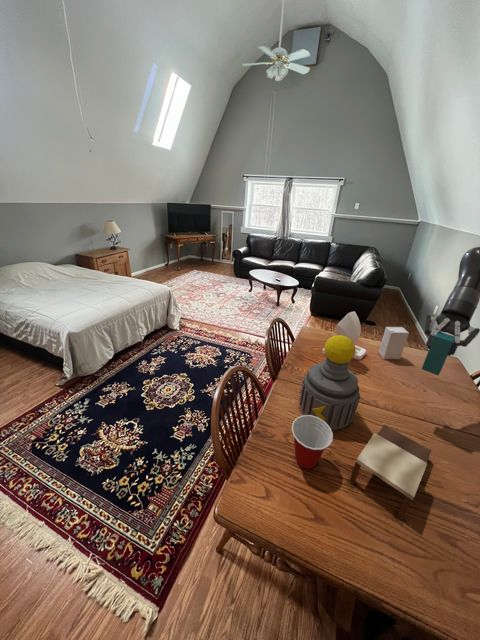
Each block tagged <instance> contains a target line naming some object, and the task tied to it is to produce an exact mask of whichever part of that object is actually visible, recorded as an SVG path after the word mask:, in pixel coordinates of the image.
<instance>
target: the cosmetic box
mask: <svg viewBox="0 0 480 640" xmlns="http://www.w3.org/2000/svg"><path fill="white" fill-rule="evenodd" d="M383 332H384V333H383V335H382V339H381V342H380V345H379V348H378V349H379V350H378V354H379V355H380V357H381V358H382V359H383V360H401V359H402V355H403V352H404V350H405V347H406V343H407V340H408V338H409V335H410V332H409V331H407V330H406V328H405V327H403V326H385V329H384V331H383Z"/></svg>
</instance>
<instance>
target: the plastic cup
mask: <svg viewBox="0 0 480 640" xmlns="http://www.w3.org/2000/svg"><path fill="white" fill-rule="evenodd" d="M291 431H292V432H291V433H292V435H293V440H294V441H293V443H294V446H293V447H294V457H295V461H296V463H297V465H298V466H300V467H301V468H304V469H306V470H311V469H313V468H314V467H315V466H316V465H317V463H318V462H319V460H320V459H321V457H322V455H323V453H324V452H325V449H326V448H329V446H330V445H331V444H332V442H333V438H334V434H333V430H331V428H330V427H329V426H328V424H327V423H326V422H325V421H323V420H322V419H320V418H318V417H315V416H312V415H303V414H302V415H300V416H298V417H296V418H295V419H294V420H293V422H292V424H291Z"/></svg>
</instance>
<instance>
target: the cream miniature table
mask: <svg viewBox="0 0 480 640" xmlns="http://www.w3.org/2000/svg"><path fill="white" fill-rule="evenodd" d="M431 453H432V450H431V449H430V448H428V447H426V446H424V445H422V444H420V443H419V442H417V441H416V440H413V439H411V438H410V437H408V436H406V435H404V434H402V433H401V432H398V431H397V430H395V429H393V428H391V427H389V426H388V425H386V424H383V425H382V427H381V429H379V432H378V433H375V432H374V433H373V434H372V436H371V437H370V438H369V440H368V441H367V443H366V444H365V446H364V447H363V449H362V450H361V452H360V453H359V454H358V456H357V458H356V459H355V463H354V465H353V469H352V472H351V476H350V478H349V483H350V484H351V485H353V486H354V485H355V484H356V481H357V478H358V475H359V473H360V470H361V467H362V468H364V469H366V470H367V471H368V472H370V473H371V474H373V475H374V476H376V477H377V478H379V479H380V480H381V481H383V482H385V483H386V484H387V485H388V486H391V487H392V488H394V489H395V490H397V491H398V492H399V493H401V494H403V495H404V496H405V498H404V500H403V503H402V504H401V507H400V508H399V511H398V513H397V515H396V518H397V519H399V520H401V521H403V520H404V519H405V516H406V514H407V512H408V510H409V509H410V506H411V505H412V502H413V500H414V499H415V496H416V494H417V492H418V489H419V486H420V483H421V481H422V478H423V476H424V474H425V472H426V468H427V466H428V460H429V457H430V454H431Z"/></svg>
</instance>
